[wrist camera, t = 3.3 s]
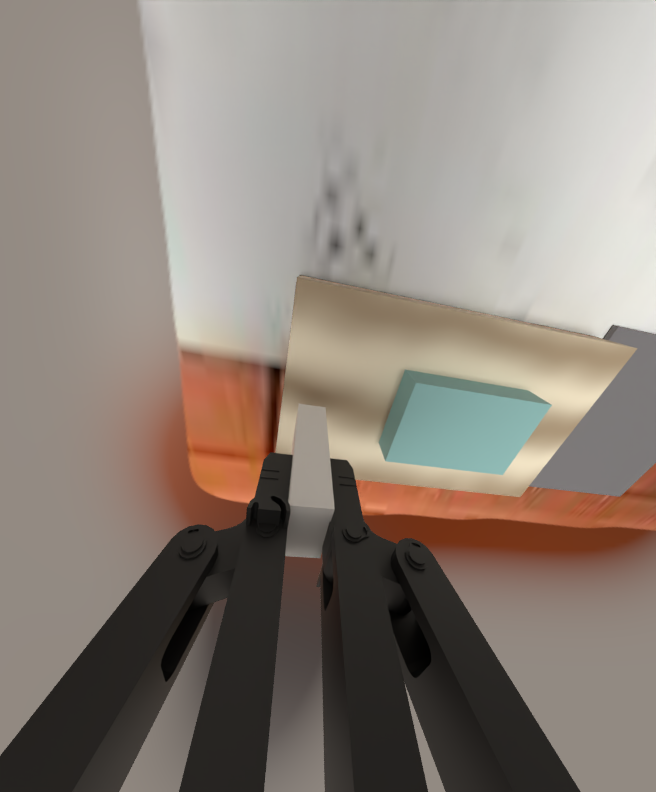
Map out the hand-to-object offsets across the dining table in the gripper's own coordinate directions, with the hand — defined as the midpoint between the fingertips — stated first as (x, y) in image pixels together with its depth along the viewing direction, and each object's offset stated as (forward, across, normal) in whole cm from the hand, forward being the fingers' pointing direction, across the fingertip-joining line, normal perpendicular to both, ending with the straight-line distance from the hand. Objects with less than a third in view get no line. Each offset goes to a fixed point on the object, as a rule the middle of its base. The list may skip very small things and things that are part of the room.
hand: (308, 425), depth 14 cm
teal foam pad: (+3, +10, 0) cm, 11 cm away
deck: (+6, +9, 0) cm, 11 cm away
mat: (+6, +28, 0) cm, 29 cm away
